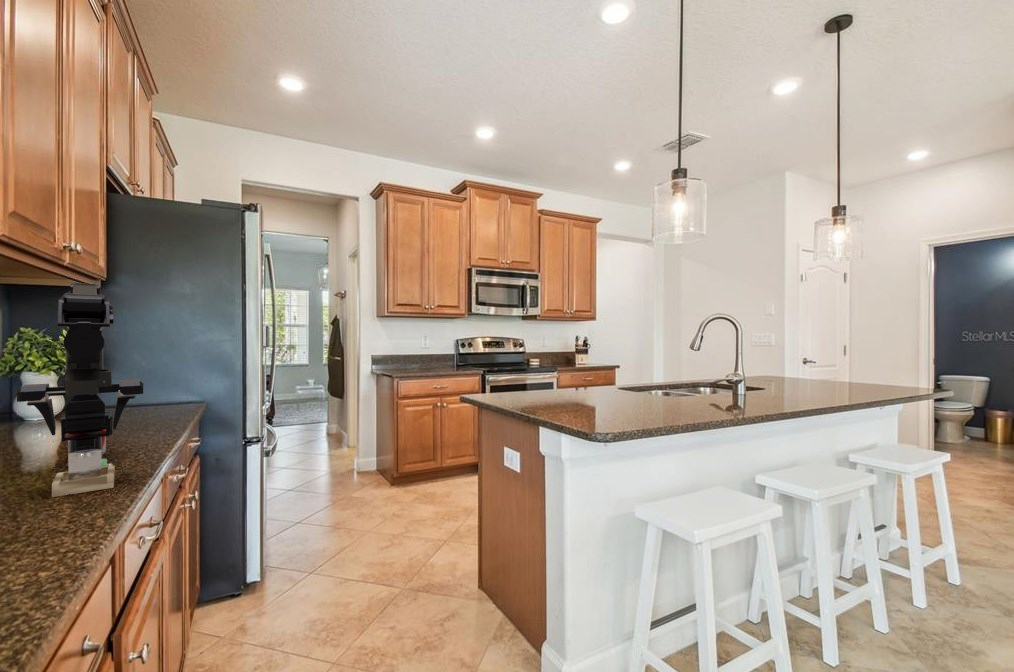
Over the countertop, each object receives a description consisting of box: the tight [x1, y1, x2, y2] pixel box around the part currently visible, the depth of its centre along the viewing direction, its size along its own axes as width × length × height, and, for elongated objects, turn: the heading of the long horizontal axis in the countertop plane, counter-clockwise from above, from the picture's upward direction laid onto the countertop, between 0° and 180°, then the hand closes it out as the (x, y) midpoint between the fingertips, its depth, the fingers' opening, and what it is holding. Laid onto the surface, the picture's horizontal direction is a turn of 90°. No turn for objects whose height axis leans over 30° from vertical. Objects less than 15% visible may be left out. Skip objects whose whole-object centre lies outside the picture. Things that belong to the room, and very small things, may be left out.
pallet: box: [51, 464, 115, 498], centre depth 95 cm, size 9×9×2 cm
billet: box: [67, 449, 101, 481], centre depth 95 cm, size 5×5×6 cm
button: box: [101, 458, 108, 467], centre depth 102 cm, size 2×2×3 cm
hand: (85, 431), depth 95 cm, fingers open, 9 cm apart
